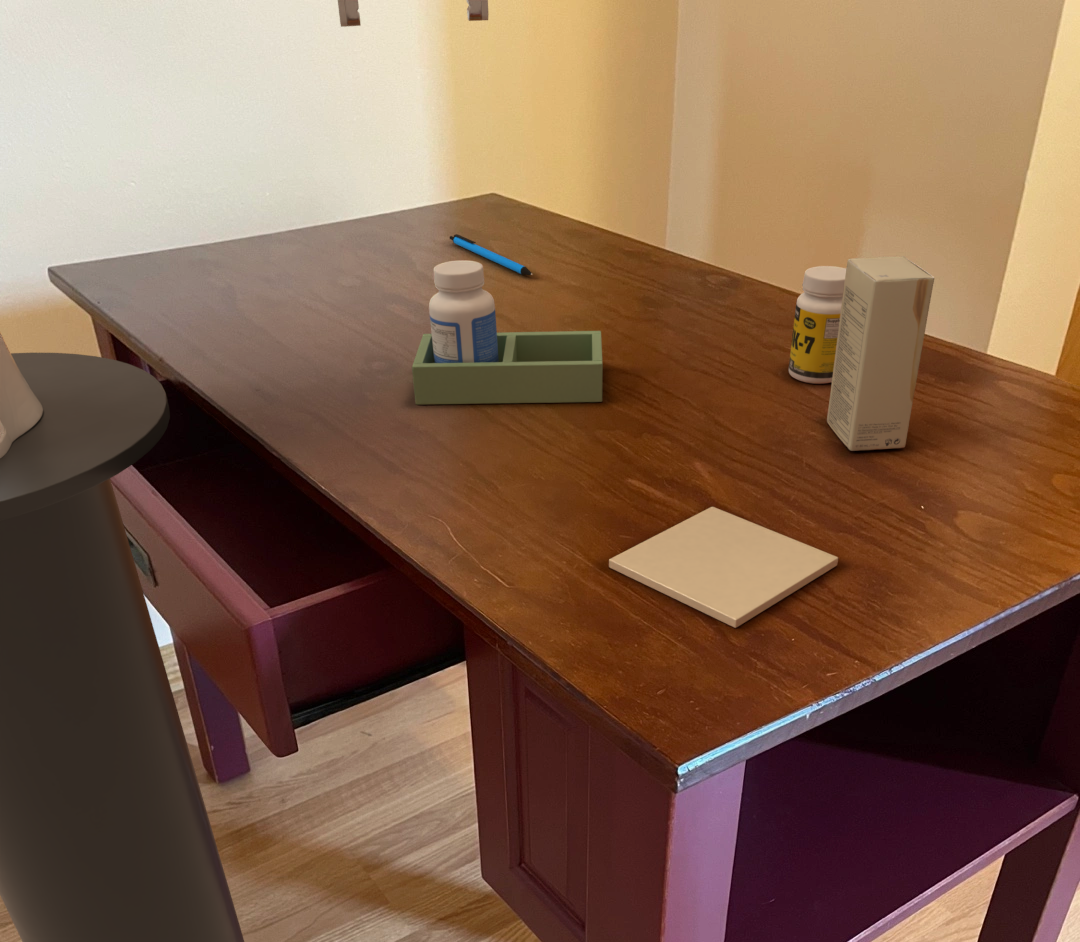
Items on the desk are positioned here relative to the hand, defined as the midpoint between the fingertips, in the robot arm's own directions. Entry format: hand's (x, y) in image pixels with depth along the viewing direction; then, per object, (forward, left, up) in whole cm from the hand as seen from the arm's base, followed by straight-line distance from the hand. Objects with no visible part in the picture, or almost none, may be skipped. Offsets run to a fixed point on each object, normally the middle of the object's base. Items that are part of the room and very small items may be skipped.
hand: (414, 23), depth 80 cm
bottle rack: (+1, -8, -26) cm, 27 cm away
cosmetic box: (+13, -35, -26) cm, 45 cm away
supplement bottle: (+21, -25, -26) cm, 42 cm away
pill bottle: (-1, -5, -26) cm, 27 cm away
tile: (-10, -40, -26) cm, 49 cm away
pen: (+26, +23, -26) cm, 43 cm away
